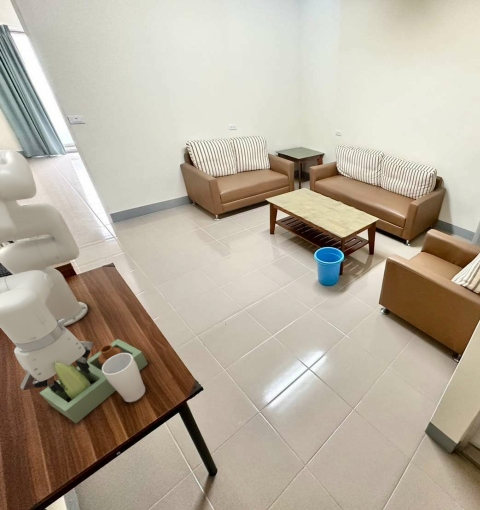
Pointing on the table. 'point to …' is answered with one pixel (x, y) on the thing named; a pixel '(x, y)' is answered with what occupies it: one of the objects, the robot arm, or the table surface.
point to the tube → (71, 379)
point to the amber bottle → (108, 353)
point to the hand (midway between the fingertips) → (73, 379)
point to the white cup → (124, 376)
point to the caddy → (96, 391)
